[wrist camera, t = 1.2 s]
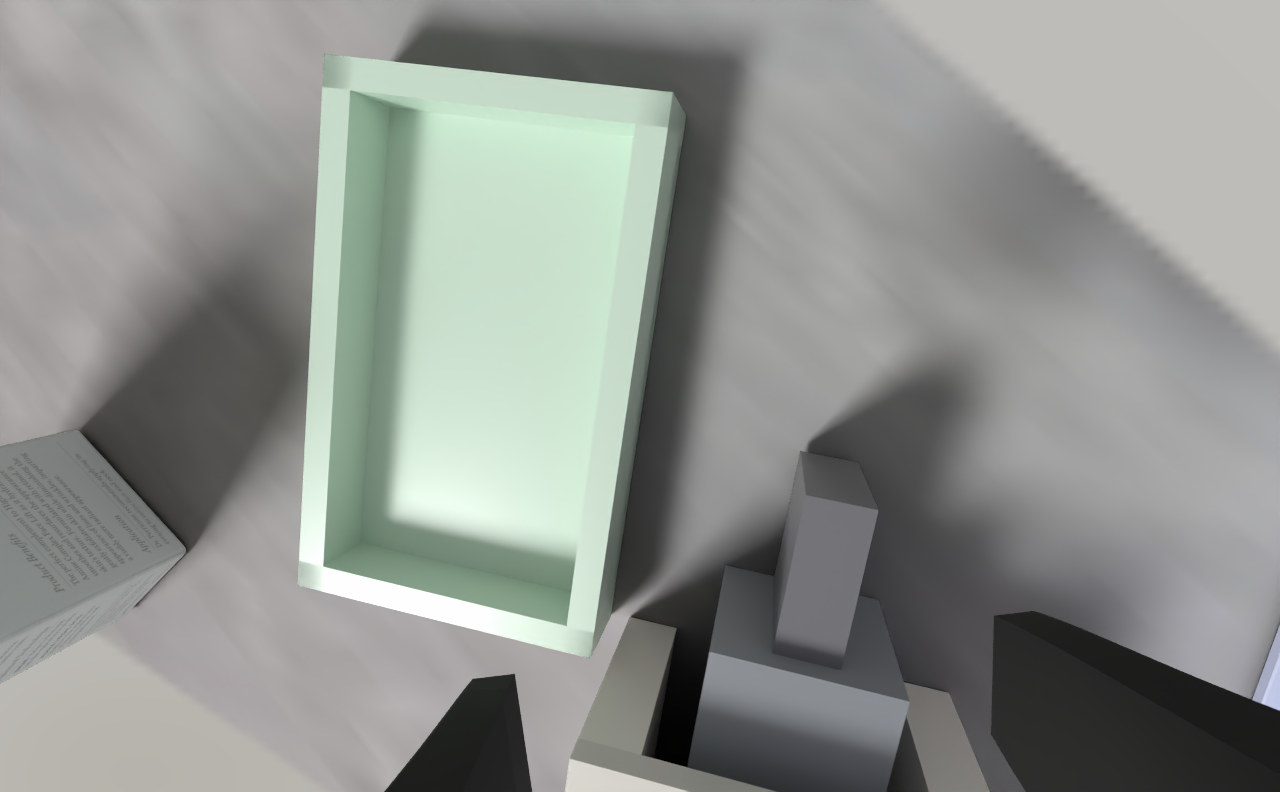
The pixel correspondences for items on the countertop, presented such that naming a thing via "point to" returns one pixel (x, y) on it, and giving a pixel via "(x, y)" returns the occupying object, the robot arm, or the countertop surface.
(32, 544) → the skincare box
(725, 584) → the grey bottle-shaped block
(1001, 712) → the robot arm
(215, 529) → the countertop surface
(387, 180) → the tray
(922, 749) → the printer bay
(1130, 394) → the countertop surface
